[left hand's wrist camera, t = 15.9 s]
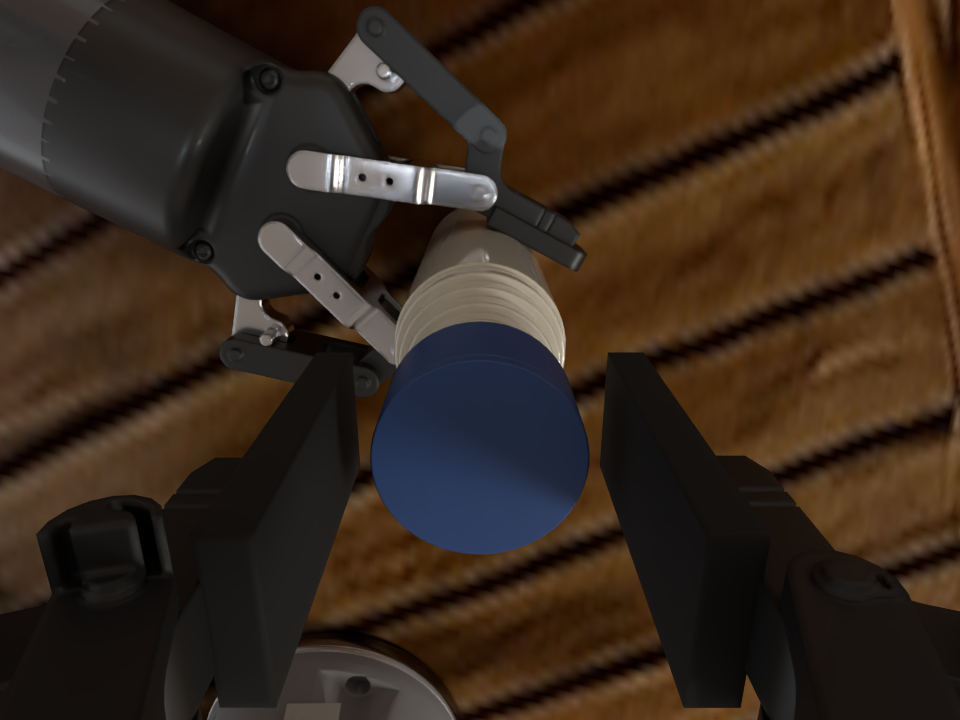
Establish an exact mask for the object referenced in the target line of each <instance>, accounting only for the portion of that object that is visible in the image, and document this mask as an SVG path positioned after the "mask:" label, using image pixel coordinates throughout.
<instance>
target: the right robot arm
mask: <svg viewBox="0 0 960 720" xmlns="http://www.w3.org/2000/svg"><path fill="white" fill-rule="evenodd" d="M356 29H357V34H356V35H355V37H354V38H353V39H352V40H351V42H350V43H349V44H348V46H347V47H346V48H345V50H344V51H343V52H342V54H341V55H340V56H339V58H338V59H337V60H336V62H335V63H334V64H333V66H332V67H331V68H330V70H329V71H328V72H326V71H322V70H297V69H294V68H292V67H289V66H287V65H285V64H283V63H282V62H280V61H278V60H276V59H274V58H272V57H271V56H269V55H267V54H265V53H263V52H261V51H260V50H258V49H256V48H254V47H252V46H250V45H249V44H247V43H245V42H243V41H241V40H239V39H238V38H236V37H234V36H232V35H230V34H228V33H226V32H225V31H223V30H221V29H219V28H217V27H215V26H214V25H212V24H210V23H208V22H206V21H204V20H203V19H201V18H199V17H197V16H195V15H193V14H192V13H190V12H188V11H186V10H185V9H183V8H181V7H179V6H177V5H175V4H174V3H172V2H170V1H168V0H0V168H2V169H3V170H5V171H8V172H10V173H12V174H14V175H16V176H18V177H20V178H22V179H24V180H26V181H28V182H30V183H32V184H34V185H36V186H39V187H41V188H43V189H45V190H47V191H49V192H51V193H53V194H55V195H57V196H59V197H61V198H63V199H65V200H67V201H69V202H72V203H74V204H76V205H78V206H80V207H82V208H84V209H86V210H88V211H90V212H92V213H94V214H96V215H98V216H100V217H102V218H105V219H107V220H109V221H111V222H113V223H115V224H117V225H119V226H121V227H123V228H125V229H127V230H129V231H131V232H133V233H136V234H138V235H140V236H142V237H144V238H146V239H148V240H150V241H152V242H154V243H156V244H158V245H160V246H162V247H165V248H167V249H169V250H171V251H173V252H175V253H177V254H179V255H181V256H184V257H186V258H189V259H191V260H194V261H196V262H199V263H201V264H203V265H205V266H207V267H209V268H210V269H211V270H212V271H214V272H215V273H216V274H217V275H218V276H219V277H220V278H221V280H222V281H223V282H224V283H225V285H226V286H227V287H228V288H229V289H230V290H231V291H232V292H233V293H234V294H236V295H237V297H236V306H235V314H234V323H233V331H232V335H231V337H230V338H229V339H228V340H226V341H225V342H224V343H223V344H222V345H221V347H220V351H219V354H220V358H221V360H222V362H223V363H224V364H225V365H226V366H227V367H229V368H231V369H234V370H239V371H243V372H248V373H253V374H257V375H262V376H266V377H271V378H275V379H280V380H284V381H289V382H294V383H296V381H297V380H298V378H299V377H300V376H301V374H302V373H303V371H304V370H305V368H306V367H307V366H308V364H309V363H310V361H311V360H312V359H313V357H314V356H315V354H316V353H352V358H353V372H354V386H355V396H357V397H369V396H372V395H373V394H374V393H375V392H376V391H377V389H378V387H379V386H380V385H381V384H382V383H383V382H384V381H385V380H387V379H388V378H389V377H390V376H391V375H392V374H393V373H395V371H396V364H395V354H394V352H395V350H394V336H395V329H396V324H397V321H398V318H399V315H400V312H401V310H402V306H401V305H400V304H399V303H398V302H397V301H396V300H395V299H394V298H393V297H392V296H391V295H390V294H389V293H388V292H387V290H386V288H385V286H384V284H383V283H382V281H381V280H380V279H379V278H378V277H377V276H376V275H375V274H374V273H373V272H372V271H371V270H370V269H369V268H368V267H367V266H366V263H367V261H368V259H369V257H370V255H371V253H372V251H373V246H374V240H375V235H376V230H377V228H378V227H379V226H380V224H381V223H382V222H383V221H384V220H385V219H386V217H387V216H388V215H389V214H390V213H391V211H392V208H393V206H394V204H395V202H396V201H398V202H405V203H412V204H432V205H439V206H446V207H453V208H460V209H467V210H473V211H476V212H478V213H480V214H482V215H484V216H485V217H486V218H487V225H488V226H490V227H492V228H494V229H496V230H498V231H499V232H501V233H503V234H505V235H508V236H510V237H512V238H513V239H515V240H517V241H518V242H520V243H522V244H524V245H526V246H528V247H530V248H531V249H533V250H535V251H537V252H539V253H541V254H543V255H545V256H546V257H548V258H550V259H552V260H554V261H556V262H558V263H560V264H561V265H563V266H565V267H567V268H569V269H571V270H573V271H578V269H579V268H580V266H581V264H582V263H583V261H584V259H585V257H586V256H587V254H586V253H585V251H584V250H583V249H582V248H581V247H580V246H579V245H577V244H575V242H576V241H577V239H578V237H579V235H580V234H579V233H578V231H577V230H576V229H575V228H574V226H573V225H572V224H571V223H570V221H569V220H568V219H567V218H566V217H564V216H563V215H561V214H559V213H557V212H555V211H553V210H551V209H550V208H548V207H546V206H544V205H542V204H541V203H539V202H537V201H535V200H533V199H531V198H530V197H528V196H526V195H524V194H522V193H520V192H519V191H517V190H515V189H513V188H511V187H510V186H508V185H507V184H506V183H505V182H504V181H503V179H502V177H501V162H502V155H503V148H504V144H505V141H506V137H507V133H506V128H505V126H504V124H503V123H502V122H501V120H500V119H498V118H497V117H496V116H495V115H494V114H493V113H492V112H491V111H490V110H489V109H488V108H487V107H486V106H485V105H484V104H483V103H482V102H481V101H480V100H479V99H478V98H477V97H476V96H475V95H474V94H473V93H472V92H471V91H469V90H468V89H467V88H466V87H465V86H464V85H463V84H462V83H461V82H460V81H459V80H458V79H457V78H456V77H455V76H454V75H453V74H452V73H451V72H450V71H449V70H448V69H447V68H446V67H445V66H444V65H443V64H442V63H441V62H439V61H438V60H437V59H436V58H435V57H434V56H433V55H432V54H431V53H430V52H429V51H428V50H427V49H426V48H425V47H424V46H423V45H422V44H421V43H420V42H419V41H418V40H417V39H416V38H415V37H414V36H413V35H412V34H411V33H409V32H408V31H407V30H406V29H405V28H404V27H403V26H402V25H401V24H400V23H399V22H398V21H397V20H396V19H395V18H394V17H393V16H392V15H391V14H390V13H389V12H388V11H387V10H385V9H384V8H382V7H379V6H370V7H368V8H366V9H364V10H363V11H362V12H361V13H360V15H359V17H358V19H357V24H356ZM406 84H407V85H408V86H409V87H411V88H412V89H413V90H414V91H415V92H416V93H417V94H418V95H419V96H420V97H421V98H422V99H423V100H424V101H425V102H426V103H427V104H429V105H430V106H431V107H432V108H433V109H434V110H435V111H436V112H437V113H438V114H439V115H440V116H441V117H442V118H443V119H444V120H446V121H447V122H448V123H449V124H450V125H451V126H452V127H453V128H454V129H455V130H456V131H457V132H458V133H459V134H460V135H461V136H463V137H464V138H465V139H466V140H467V141H468V149H467V157H466V165H465V167H459V166H452V165H446V164H439V163H435V162H431V161H425V160H419V159H412V158H405V157H398V156H392V155H387V153H386V151H385V149H384V148H383V146H382V144H381V142H380V140H379V138H378V136H377V134H376V132H375V130H374V128H373V126H372V124H371V122H370V121H369V119H368V117H367V115H366V113H365V111H364V109H363V107H362V105H361V103H360V101H359V99H358V97H357V95H356V93H355V91H356V90H357V89H358V88H360V87H362V86H365V85H372V86H374V87H375V88H377V89H378V90H380V91H383V92H386V93H395V92H398V91H400V90H401V89H402V88H403V87H404V86H405V85H406ZM336 292H338V293H339V294H340V295H337V294H336ZM307 293H311V294H312V295H313V296H314V297H315V298H316V299H317V300H318V301H319V302H320V303H321V304H322V305H323V306H324V307H325V308H327V309H328V310H329V311H330V312H331V313H332V314H333V315H334V316H335V317H336V318H337V319H338V320H339V321H340V322H341V323H342V324H343V325H345V326H346V327H348V328H350V329H354V330H356V331H357V332H358V333H359V334H360V335H361V336H362V337H363V338H364V339H365V340H366V341H367V342H368V343H370V344H371V345H370V346H368V345H363V344H359V343H354V342H350V341H346V340H341V339H337V338H332V337H328V336H324V335H319V334H315V333H310V332H306V331H301V330H297V329H294V325H293V322H292V321H291V319H290V318H289V317H288V316H287V315H285V314H283V313H280V312H278V311H276V310H275V309H274V308H273V307H272V306H271V304H270V302H269V299H271V298H278V297H285V296H292V295H299V294H307Z"/></svg>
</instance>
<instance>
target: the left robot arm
mask: <svg viewBox="0 0 960 720" xmlns="http://www.w3.org/2000/svg"><path fill="white" fill-rule="evenodd" d="M359 467H360V457H359V442H358V428H357V414H356V400H355V386H354V372H353V358H352V353H316V354H315V356H314V357H313V359H312V360H311V361H310V363H309V364H308V366H307V367H306V368H305V370H304V371H303V373H302V374H301V376H300V377H299V378H298V380H297V381H296V383H295V384H294V386H293V387H292V388H291V390H290V391H289V393H288V394H287V396H286V397H285V398H284V400H283V401H282V403H281V404H280V406H279V407H278V408H277V410H276V411H275V413H274V414H273V415H272V417H271V418H270V420H269V421H268V423H267V424H266V425H265V427H264V428H263V430H262V431H261V433H260V434H259V435H258V437H257V438H256V440H255V441H254V443H253V444H252V445H251V447H250V448H249V450H248V451H247V453H246V454H245V455H244V457H243V458H214V459H213V460H211V461H210V462H208V463H206V464H205V465H203V466H201V467H200V468H198V469H197V470H195V471H193V472H192V473H191V474H190V475H189V476H188V477H187V479H186V480H185V481H184V482H183V483H182V485H181V486H180V487H179V488H178V489H177V493H176V494H173V496H172V497H171V498H170V499H169V500H168V502H167V503H166V504H165V505H164V509H162V508H161V505H159V504H158V503H157V502H155V501H154V500H153V499H152V498H147V497H142V496H137V495H125V496H111V497H107V498H102V499H97V500H93V501H89V502H87V503H84V504H81V505H79V506H76V507H74V508H71V509H68V510H66V511H65V512H63V513H62V514H60V515H58V516H57V517H55V518H53V519H52V520H50V521H48V522H47V523H46V525H45V526H44V527H43V528H42V529H41V530H40V531H39V532H38V533H37V534H36V536H37V539H38V543H39V547H40V550H41V554H42V558H43V561H44V565H45V569H46V572H47V576H48V580H49V583H50V587H51V591H52V596H51V598H50V600H49V602H48V604H46V605H42V606H38V607H34V608H29V609H24V610H20V611H15V612H10V613H5V614H0V720H202V715H201V709H200V704H201V702H202V699H203V697H204V695H205V693H206V691H207V689H208V687H209V685H210V683H211V681H212V679H213V677H214V680H215V685H216V691H217V697H216V699H215V701H214V704H213V706H212V708H211V710H210V712H209V715H208V719H207V720H460V715H459V711H458V708H457V705H456V703H455V701H454V699H453V697H452V695H451V693H450V692H449V690H448V688H447V687H446V686H445V684H444V683H443V682H442V681H441V679H440V678H439V677H438V676H437V675H436V674H435V673H434V672H433V671H432V670H431V669H429V668H428V667H427V666H426V665H425V664H423V663H422V662H421V661H419V660H418V659H416V658H415V657H413V656H412V655H410V654H408V653H407V652H405V651H403V650H401V649H399V648H397V647H395V646H392V645H389V644H387V643H384V642H382V641H378V640H375V639H371V638H367V637H363V636H358V635H351V634H343V633H315V634H305V635H301V634H302V632H303V629H304V626H305V623H306V620H307V617H308V614H309V611H310V609H311V606H312V603H313V600H314V597H315V594H316V591H317V588H318V585H319V583H320V580H321V577H322V574H323V571H324V568H325V565H326V562H327V560H328V557H329V554H330V551H331V548H332V545H333V542H334V539H335V536H336V534H337V531H338V528H339V525H340V522H341V519H342V516H343V513H344V511H345V508H346V505H347V502H348V499H349V496H350V493H351V490H352V487H353V485H354V482H355V479H356V476H357V473H358V470H359ZM600 467H601V470H602V473H603V476H604V479H605V482H606V485H607V487H608V490H609V493H610V496H611V499H612V502H613V505H614V508H615V511H616V513H617V516H618V519H619V522H620V525H621V528H622V531H623V534H624V536H625V539H626V542H627V545H628V548H629V551H630V554H631V557H632V560H633V562H634V565H635V568H636V571H637V574H638V577H639V580H640V583H641V585H642V588H643V591H644V594H645V597H646V600H647V603H648V606H649V609H650V611H651V614H652V617H653V620H654V623H655V626H656V629H657V632H658V634H659V637H660V640H661V643H662V646H663V649H664V652H665V655H666V658H667V660H668V663H669V666H670V669H671V672H672V675H673V678H674V681H675V683H676V686H677V689H678V692H679V695H680V698H681V701H682V704H683V707H684V708H741V702H742V697H743V691H744V685H745V680H746V674H747V675H748V677H749V679H750V681H751V684H752V686H753V688H754V690H755V692H756V694H757V696H758V698H759V700H760V702H761V704H760V709H759V715H758V720H960V611H955V610H950V609H945V608H940V607H936V606H931V605H926V604H922V603H918V602H914V601H911V599H910V597H909V594H908V593H907V591H906V590H905V589H904V588H903V586H902V585H901V584H900V582H899V581H898V580H897V579H896V578H895V577H893V576H892V575H891V574H889V573H888V572H886V571H885V570H884V569H882V568H881V567H879V566H878V565H875V564H873V563H871V562H869V561H867V560H864V559H862V558H860V557H858V556H854V555H850V554H846V553H842V552H838V551H835V550H834V549H833V547H832V546H831V545H830V544H829V542H828V541H827V540H826V539H825V538H824V536H823V535H822V534H821V533H820V532H819V530H818V529H817V528H816V527H815V525H814V524H813V523H812V522H811V521H810V519H809V518H808V517H807V516H806V515H805V513H804V512H803V511H802V510H801V509H800V507H796V502H795V501H794V500H793V499H792V498H791V496H790V495H789V494H788V493H787V492H784V488H783V487H782V485H781V484H780V483H779V482H778V481H777V479H776V478H775V477H774V476H773V475H772V473H771V472H770V471H769V470H767V469H766V468H764V467H762V466H761V465H759V464H758V463H756V462H754V461H753V460H751V459H749V458H748V457H746V456H716V455H715V454H714V453H713V451H712V450H711V448H710V447H709V445H708V444H707V443H706V441H705V440H704V438H703V437H702V435H701V434H700V433H699V431H698V430H697V428H696V427H695V425H694V424H693V423H692V421H691V420H690V418H689V417H688V415H687V414H686V413H685V411H684V410H683V408H682V407H681V406H680V404H679V403H678V401H677V400H676V398H675V397H674V396H673V394H672V393H671V391H670V390H669V388H668V387H667V386H666V384H665V383H664V381H663V380H662V378H661V377H660V376H659V374H658V373H657V371H656V370H655V368H654V367H653V366H652V364H651V363H650V361H649V360H648V359H647V357H646V356H645V354H644V353H608V358H607V372H606V386H605V400H604V414H603V428H602V442H601V457H600Z"/></svg>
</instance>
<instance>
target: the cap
mask: <svg viewBox="0 0 960 720" xmlns="http://www.w3.org/2000/svg"><path fill="white" fill-rule="evenodd" d="M370 462H371V470H372V475H373V479H374V483H375V486H376V488H377V491H378V493H379V495H380V498H381V499H382V501H383V503H384V504H385V506H386V508H387V509H388V510H389V512H390V513H391V514H392V515H393V517H394V518H395V519H396V520H397V521H398V522H399V523H400V524H401V525H402V526H403V527H404V528H406V529H407V530H408V531H410V532H411V533H413V534H414V535H415V536H417V537H419V538H420V539H422V540H424V541H426V542H428V543H430V544H433V545H435V546H437V547H440V548H443V549H447V550H450V551H454V552H460V553H467V554H493V553H500V552H506V551H509V550H513V549H517V548H520V547H522V546H525V545H527V544H530V543H532V542H534V541H536V540H538V539H539V538H541V537H543V536H544V535H546V534H547V533H549V532H550V531H551V530H553V529H554V528H555V527H556V526H557V525H558V524H560V523H561V522H562V521H563V520H564V518H565V517H566V516H567V515H568V514H569V513H570V511H571V510H572V508H573V507H574V505H575V504H576V502H577V501H578V499H579V497H580V495H581V493H582V491H583V488H584V485H585V482H586V479H587V475H588V468H589V445H588V438H587V435H586V432H585V428H584V425H583V422H582V419H581V416H580V413H579V410H578V407H577V404H576V401H575V398H574V396H573V393H572V390H571V387H570V384H569V381H568V378H567V376H566V374H565V372H564V369H563V367H562V366H561V364H560V363H559V361H558V360H557V358H556V357H555V356H554V355H553V354H552V352H551V351H550V350H549V349H548V348H547V347H546V346H545V345H543V344H542V343H541V342H540V341H539V340H537V339H536V338H534V337H533V336H531V335H530V334H528V333H526V332H524V331H522V330H520V329H517V328H514V327H511V326H508V325H505V324H500V323H495V322H484V321H478V322H465V323H460V324H455V325H452V326H448V327H445V328H443V329H441V330H438V331H436V332H434V333H432V334H430V335H429V336H427V337H426V338H424V339H422V340H421V341H420V342H419V343H418V344H416V345H415V346H414V347H413V348H412V349H411V350H410V351H409V352H408V353H407V354H406V355H405V357H404V358H403V360H402V361H401V362H400V364H399V365H398V367H397V369H396V371H395V373H394V375H393V378H392V381H391V383H390V386H389V389H388V392H387V395H386V398H385V401H384V404H383V407H382V410H381V413H380V416H379V419H378V422H377V425H376V428H375V431H374V434H373V438H372V444H371V457H370Z"/></svg>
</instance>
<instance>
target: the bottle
mask: <svg viewBox="0 0 960 720" xmlns="http://www.w3.org/2000/svg"><path fill="white" fill-rule="evenodd" d="M478 321H484V322H495V323H500V324H505V325H508V326H511V327H514V328H517V329H520V330H522V331H524V332H526V333H528V334H530V335H531V336H533V337H534V338H536V339H537V340H539V341H540V342H541V343H542V344H543V345H545V346H546V347H547V348H548V349H549V350H550V351H551V352H552V354H553V355H554V356H555V357H556V358H557V360H558V361H559V363H560V364H561V366H562V367H563V368H564V362H565V342H566V339H565V331H564V326H563V322H562V318H561V316H560V313H559V311H558V309H557V306H556V304H555V301H554V299H553V296H552V294H551V292H550V289H549V287H548V284H547V282H546V279H545V277H544V275H543V272H542V270H541V267H540V265H539V262H538V260H537V258H536V255H535V253H534V250H533V249H531V248H530V247H528V246H526V245H524V244H522V243H520V242H518V241H517V240H515V239H513V238H512V237H510V236H508V235H505V234H503V233H501V232H499V231H498V230H496V229H494V228H492V227H490V226H488V225H487V218H486V217H485V216H484V215H482V214H480V213H478V212H476V211H473V210H467V209H460V208H458V209H456V210H454V211H453V212H451V213H450V214H448V215H447V216H446V217H445V218H444V219H443V220H442V221H441V222H440V223H439V224H438V226H437V227H436V229H435V231H434V233H433V235H432V237H431V239H430V242H429V244H428V247H427V249H426V252H425V254H424V256H423V259H422V261H421V264H420V266H419V269H418V271H417V273H416V276H415V278H414V281H413V283H412V286H411V288H410V290H409V293H408V295H407V298H406V300H405V303H404V305H403V307H402V310H401V312H400V315H399V318H398V321H397V324H396V329H395V336H394V350H395V352H394V354H395V364H396V369H397V367H398V365H399V364H400V362H401V361H402V360H403V358H404V357H405V355H406V354H407V353H408V352H409V351H410V350H411V349H412V348H413V347H414V346H415V345H416V344H418V343H419V342H420V341H421V340H422V339H424V338H426V337H427V336H429V335H430V334H432V333H434V332H436V331H438V330H441V329H443V328H445V327H448V326H452V325H455V324H460V323H465V322H478Z"/></svg>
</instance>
